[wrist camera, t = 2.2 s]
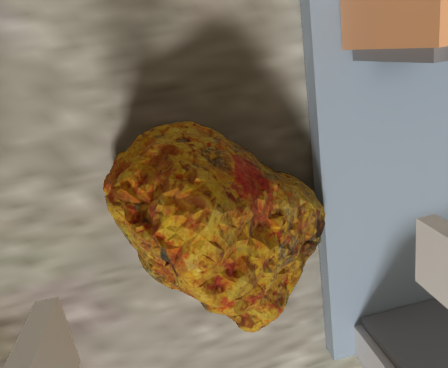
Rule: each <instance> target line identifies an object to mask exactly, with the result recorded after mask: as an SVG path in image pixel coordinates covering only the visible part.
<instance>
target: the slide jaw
mask: <svg viewBox="0 0 448 368" xmlns="http://www.w3.org/2000/svg"><path fill="white" fill-rule="evenodd" d="M340 12H341V34H342V50H353V61H376V62H409V63H438V62H443V61H448V0H340Z"/></svg>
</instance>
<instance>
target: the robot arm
mask: <svg viewBox="0 0 448 368" xmlns="http://www.w3.org/2000/svg"><path fill="white" fill-rule="evenodd" d="M415 281H416V282H417V283H418V284H419V285H421V286H422V287H423V288H424V289H425V290H426V291H427V292H429V293H430V294H431V295H432V296H433V297H434V298H435V299H437V300H438V301H439V302H440V303H441V304H442V305H444V306H445V307H446V308H447V309H448V221H446V220H444V219H443V218H441V217H439V216H437V215H436V214H433V215H429V216H424V217H420V218H416V261H415ZM79 364H80V358H79V355H78V352H77V349H76V346H75V343H74V340H73V337H72V335H71V332H70V329H69V326H68V323H67V320H66V317H65V314H64V311H63V309H62V306H61V303H60V300H59V297H55V298H50V299H46V300H41V301H37V302H35V303H34V305H33V307H32V309H31V311H30V314H29V316H28V318H27V320H26V322H25V324H24V326H23V328H22V330H21V332H20V334H19V336H18V338H17V340H16V342H15V344H14V346H13V348H12V350H11V352H10V355H9V357H8V359H7V361H6V363H5V365H4V367H3V368H79Z"/></svg>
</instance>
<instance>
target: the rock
mask: <svg viewBox="0 0 448 368" xmlns="http://www.w3.org/2000/svg"><path fill="white" fill-rule="evenodd" d="M103 190H104V192H105V194H106V196H105V199H106V203H107V207H108V210H109V212H110V213H111V215H112V217H113V218H114V220H115V222H116V224H117V225H118V226H119V228H120V229H121V230H122V232H123V234H124V235H125V237H126V238H127V239H128V240H129V242H130V244H131V245H132V246H133V247H134V248H135V249H136V250H137V252H138V256H139V259H140V261H141V263H142V265H143V268H144V269H145V270H146V271H147V272H148V273H149V274H150V275H151V276H152V277H153V278H154V279H155V280H157V281H158V282H160V283H161V284H163V285H165V286H167V287H169V288H171V289H177V290H179V291H182V292H184V293H186V294H188V295H190V296H192V297H193V298H195V299H197V300H199V301H200V302H201V304H202V305H203V307H204V308H205V309H206V310H208V311H209V312H212V313H218V314H223V315H227V316H228V317H229V318H231V319H232V320H233V321H235V322H236V323H237V325H238V327H239V328H240V329H242V330H244V331H247V332H256V331H259V330H260V329H261V328H263V327H265V326H267V325H268V324H269V323H271V322H272V321H274V320H275V319H276V318H278V317H279V315H280V314H281V313H282V312H283V310H284V308H285V306H286V303H287V300H288V298H289V296H290V294H291V292H292V290H293V289H294V287H295V285H296V284H297V282H298V280H299V278H300V276H301V274H302V272H303V267H304V265H305V262H306V260H307V259H308V258H309V257H310V256H311V254H312V253H313V252H314V251H315V249H316V246H317V244H319V243H320V242H321V235H322V233H323V230H324V226H325V212H324V208H323V206H322V204H321V203H320V202H319V201H318V199H317V198H316V195H315V193H314V191H313V190H312V189H310V188H309V187H308V186H307V185H305V184H304V183H303V182H302V181H300V180H299V179H298V178H296V177H294V176H292V175H289V174H287V173H281V172H278V171H274V170H272V169H271V168H270V167H266V166H265V165H262V164H261V163H260V162H259V161H258V160H257V158H256V157H255V156H254V154H253V153H251V152H250V151H248V150H247V149H245V148H243V147H242V146H240V145H238V144H236V143H234V142H232V141H231V140H229V139H227V138H226V137H224V136H223V135H222V134H220V133H219V132H217V131H215V130H213V129H211V128H209V127H204V126H201V125H199V124H198V123H195V122H193V121H182V122H175V123H172V124H164V125H161V126H157V127H153V128H151V129H149V130H147V131H145V132H143V134H142V135H138V137H137V138H136V139H135V141H134V142H133V143H132V144H131V146H130V147H129V148H128V149H127V150H126V151H125V152H120V153H119V154H118V155H117V157H116V159H115V161H114V163H113V166H112V168H111V170H110V173H109V174H108V175H107V176H106V179H105V180H104V187H103Z"/></svg>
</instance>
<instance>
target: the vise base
mask: <svg viewBox="0 0 448 368" xmlns="http://www.w3.org/2000/svg"><path fill="white" fill-rule="evenodd" d="M300 6H301V19H302V32H303V45H304V58H305V71H306V84H307V98H308V111H309V124H310V137H311V150H312V163H313V176H314V189H315V195H316V198H317V199H318V201H319V202H320V203H321V204H322V206H323V208H324V212H325V226H324V230H323V233H322V235H321V242H320V243H319V255H320V268H321V281H322V294H323V308H324V321H325V334H326V347H327V350H328V351H329V353H330V355H331V356H332V358H333V359H334V361H335V360H338V359H342V358H346V357H350V356H353V355H356V357H357V358H358V360H359V361H360V363H361V364H362V366H363V367H364V368H448V309H447V308H446V307H445V306H444V305H442V304H441V303H440V302H439V301H438V300H437V299H435V298H434V297H433V296H432V295H431V294H430V293H429V292H427V291H426V290H425V289H424V288H423V287H422V286H421V285H419V284H418V283H417V282H416V281H415V261H416V218H420V217H424V216H429V215H433V214H436V215H437V216H439V217H441V218H443V219H444V220H446V221H448V61H443V62H438V63H409V62H376V61H353V50H342V34H341V12H340V0H300Z"/></svg>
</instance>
